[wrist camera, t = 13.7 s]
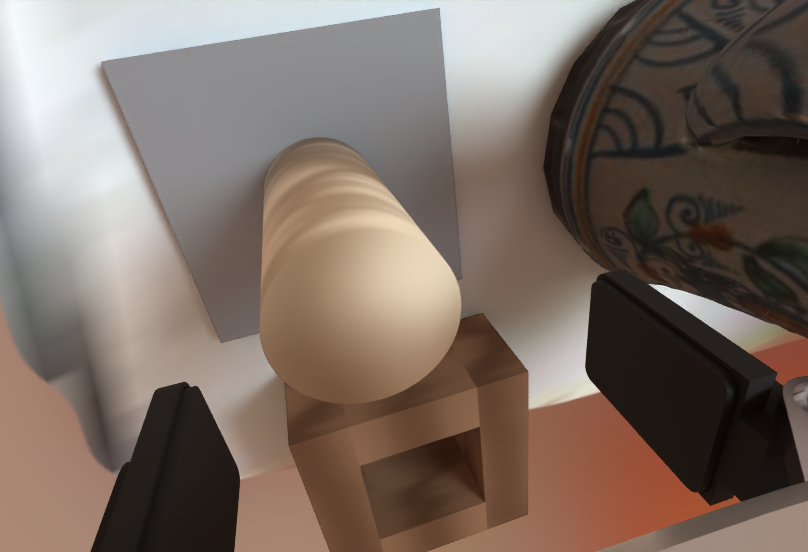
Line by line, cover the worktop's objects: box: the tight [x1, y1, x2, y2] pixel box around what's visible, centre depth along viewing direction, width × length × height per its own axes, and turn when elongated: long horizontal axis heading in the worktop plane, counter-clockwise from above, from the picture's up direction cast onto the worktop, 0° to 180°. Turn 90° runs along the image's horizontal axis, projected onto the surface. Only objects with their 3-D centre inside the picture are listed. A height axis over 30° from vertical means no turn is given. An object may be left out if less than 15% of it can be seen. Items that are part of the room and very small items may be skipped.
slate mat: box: [101, 8, 462, 343], centre depth 23 cm, size 14×14×1 cm
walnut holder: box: [285, 313, 528, 552], centre depth 29 cm, size 13×13×6 cm
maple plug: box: [260, 137, 461, 404], centre depth 17 cm, size 5×5×12 cm
